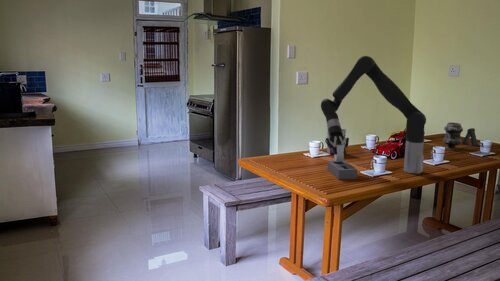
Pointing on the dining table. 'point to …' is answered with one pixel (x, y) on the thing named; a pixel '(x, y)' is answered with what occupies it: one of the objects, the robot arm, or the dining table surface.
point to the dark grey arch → (473, 138)
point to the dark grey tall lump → (452, 135)
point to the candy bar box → (332, 143)
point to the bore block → (342, 169)
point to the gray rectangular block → (339, 152)
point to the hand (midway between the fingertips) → (340, 154)
